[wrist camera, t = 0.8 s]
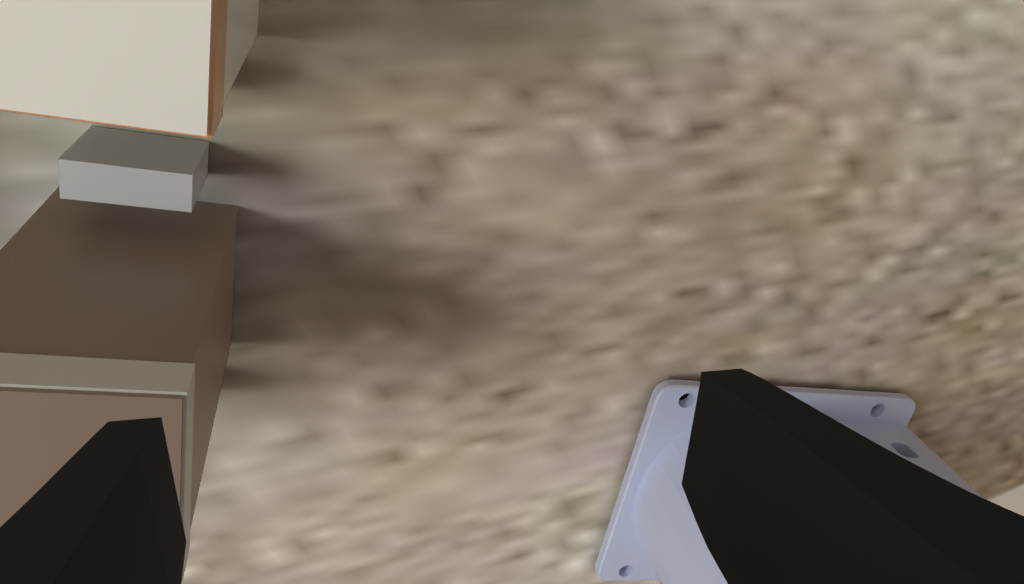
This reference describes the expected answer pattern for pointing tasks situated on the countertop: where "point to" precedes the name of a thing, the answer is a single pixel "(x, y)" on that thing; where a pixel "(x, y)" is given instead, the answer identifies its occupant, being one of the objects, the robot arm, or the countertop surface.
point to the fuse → (112, 335)
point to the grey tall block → (125, 60)
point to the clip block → (134, 169)
